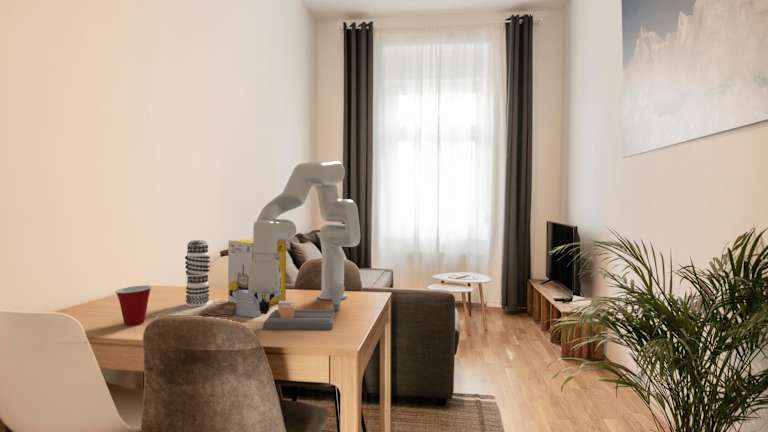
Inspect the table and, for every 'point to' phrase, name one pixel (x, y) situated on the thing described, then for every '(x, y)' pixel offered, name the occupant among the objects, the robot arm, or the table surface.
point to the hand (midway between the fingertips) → (264, 313)
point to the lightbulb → (336, 293)
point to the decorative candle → (197, 273)
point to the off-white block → (283, 304)
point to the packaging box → (240, 267)
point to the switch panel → (301, 320)
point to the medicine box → (246, 304)
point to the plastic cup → (134, 303)
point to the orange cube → (287, 311)
